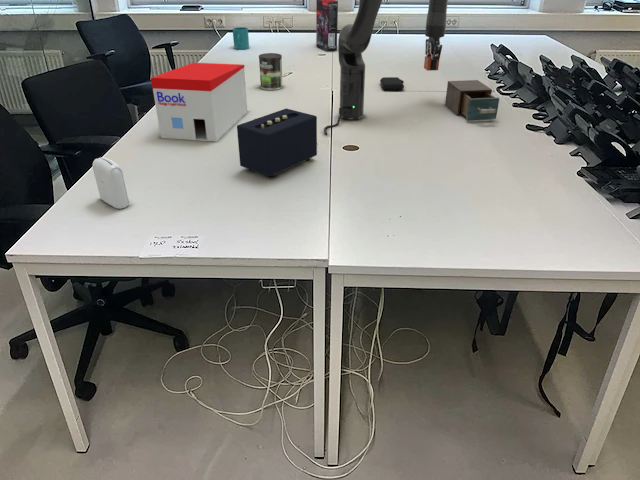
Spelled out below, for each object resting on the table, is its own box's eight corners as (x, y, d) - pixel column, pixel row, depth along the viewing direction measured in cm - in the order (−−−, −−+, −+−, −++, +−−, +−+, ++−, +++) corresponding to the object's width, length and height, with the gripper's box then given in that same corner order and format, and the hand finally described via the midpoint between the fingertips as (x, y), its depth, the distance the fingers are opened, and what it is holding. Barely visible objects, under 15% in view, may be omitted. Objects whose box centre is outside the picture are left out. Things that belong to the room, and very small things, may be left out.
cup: (231, 50, 313) (229, 30, 307) (236, 46, 323) (234, 27, 318) (246, 50, 312) (245, 30, 307) (250, 46, 323) (249, 27, 317)
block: (438, 70, 213) (439, 58, 211) (427, 70, 213) (428, 58, 210) (434, 67, 217) (435, 56, 215) (423, 68, 216) (424, 56, 214)
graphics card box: (315, 46, 322) (315, -3, 308) (325, 45, 325) (325, -3, 311) (327, 52, 309) (327, 1, 295) (338, 50, 311) (338, 0, 297)
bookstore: (160, 138, 186) (150, 77, 175) (199, 108, 215) (192, 55, 204) (216, 142, 182) (209, 80, 171) (247, 111, 212) (243, 57, 201)
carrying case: (406, 91, 236) (402, 82, 249) (407, 84, 234) (402, 76, 247) (382, 91, 236) (379, 83, 249) (383, 84, 234) (379, 76, 247)
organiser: (488, 114, 208) (492, 89, 203) (457, 115, 206) (460, 90, 201) (474, 103, 220) (477, 79, 215) (445, 104, 219) (447, 81, 214)
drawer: (501, 122, 196) (505, 102, 192) (471, 124, 195) (474, 103, 191) (482, 108, 211) (485, 88, 207) (454, 109, 210) (457, 89, 206)
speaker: (287, 150, 175) (286, 105, 168) (317, 159, 168) (317, 113, 161) (239, 170, 161) (235, 122, 153) (270, 181, 154) (267, 132, 146)
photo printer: (98, 199, 145) (87, 156, 138) (112, 194, 147) (103, 152, 141) (117, 211, 139) (107, 167, 132) (132, 205, 141) (122, 162, 135)
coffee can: (275, 91, 237) (273, 58, 230) (256, 88, 241) (254, 56, 234) (287, 85, 245) (286, 54, 238) (268, 83, 249) (266, 52, 242)
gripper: (451, 26, 200) (445, 72, 209) (439, 20, 212) (434, 64, 221) (432, 26, 199) (427, 72, 208) (421, 20, 212) (416, 64, 220)
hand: (430, 68), depth 215 cm, fingers closed on block, 4 cm apart
